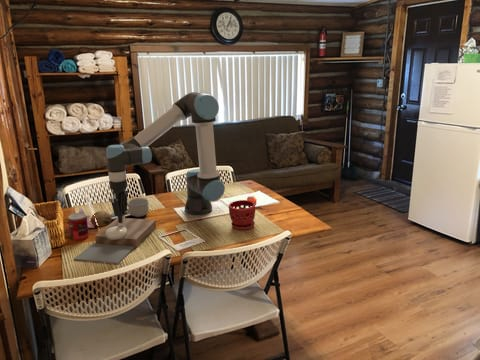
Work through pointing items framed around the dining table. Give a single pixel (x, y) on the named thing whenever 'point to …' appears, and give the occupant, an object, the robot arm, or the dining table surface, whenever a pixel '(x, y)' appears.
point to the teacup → (138, 207)
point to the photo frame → (184, 244)
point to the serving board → (128, 232)
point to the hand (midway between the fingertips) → (122, 228)
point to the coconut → (101, 218)
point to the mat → (104, 253)
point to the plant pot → (242, 214)
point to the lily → (87, 219)
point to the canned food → (78, 226)
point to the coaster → (116, 232)
